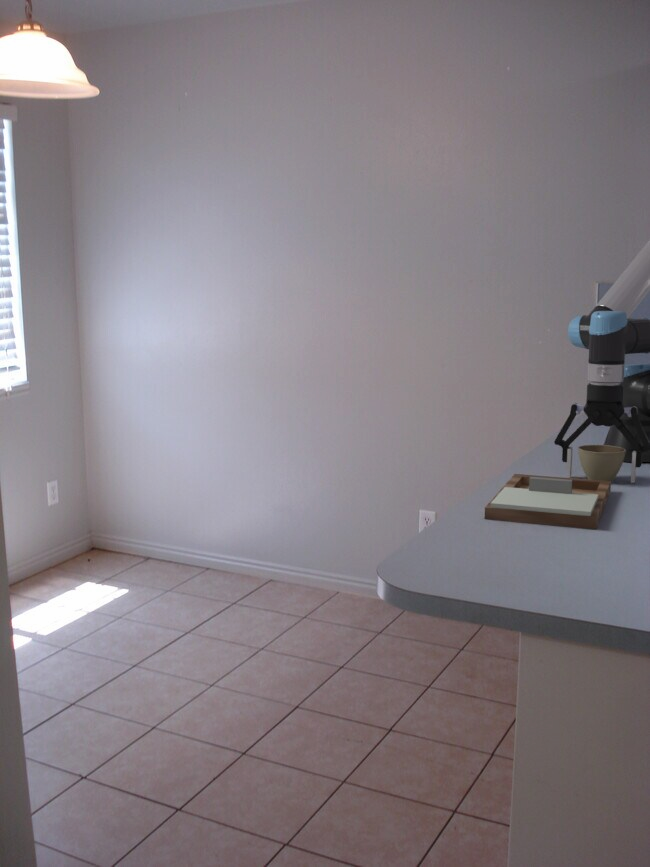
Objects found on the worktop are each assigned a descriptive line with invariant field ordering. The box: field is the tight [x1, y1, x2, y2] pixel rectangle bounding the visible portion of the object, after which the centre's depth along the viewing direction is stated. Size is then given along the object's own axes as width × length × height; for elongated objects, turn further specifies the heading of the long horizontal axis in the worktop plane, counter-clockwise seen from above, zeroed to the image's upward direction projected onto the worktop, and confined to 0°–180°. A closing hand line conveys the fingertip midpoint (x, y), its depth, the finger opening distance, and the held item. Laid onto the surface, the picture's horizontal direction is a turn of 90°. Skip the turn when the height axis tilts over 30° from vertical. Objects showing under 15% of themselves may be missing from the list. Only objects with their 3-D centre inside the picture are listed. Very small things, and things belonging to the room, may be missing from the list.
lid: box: [491, 477, 598, 516], centre depth 179 cm, size 14×18×3 cm
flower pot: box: [578, 444, 626, 483], centre depth 208 cm, size 10×10×7 cm
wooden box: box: [484, 473, 612, 530], centre depth 187 cm, size 31×20×2 cm, turn 159°
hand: (600, 479), depth 208 cm, fingers open, 13 cm apart
